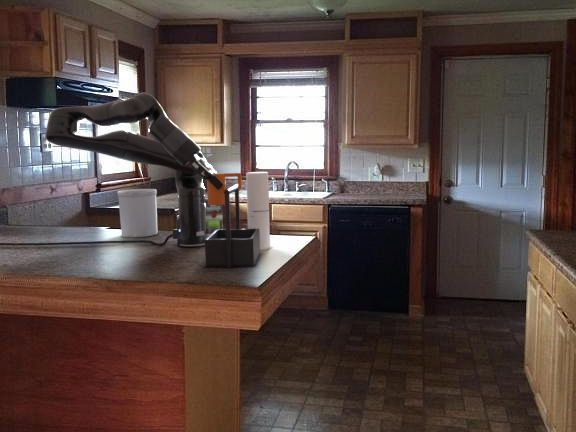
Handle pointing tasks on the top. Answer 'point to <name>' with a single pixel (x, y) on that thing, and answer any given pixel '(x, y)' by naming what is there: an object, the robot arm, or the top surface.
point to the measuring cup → (218, 195)
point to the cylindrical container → (258, 206)
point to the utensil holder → (138, 212)
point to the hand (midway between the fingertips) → (222, 186)
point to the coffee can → (213, 217)
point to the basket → (232, 241)
